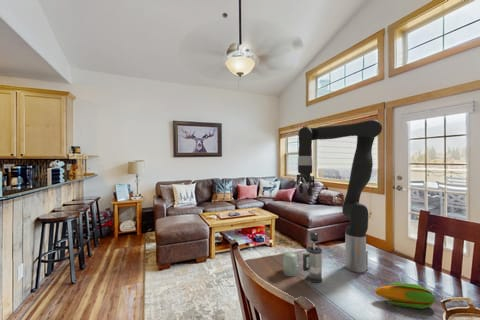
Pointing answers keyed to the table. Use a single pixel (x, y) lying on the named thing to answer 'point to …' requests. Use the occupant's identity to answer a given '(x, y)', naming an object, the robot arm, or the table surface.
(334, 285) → the table surface
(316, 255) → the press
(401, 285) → the corn
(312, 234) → the plunger
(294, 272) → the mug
